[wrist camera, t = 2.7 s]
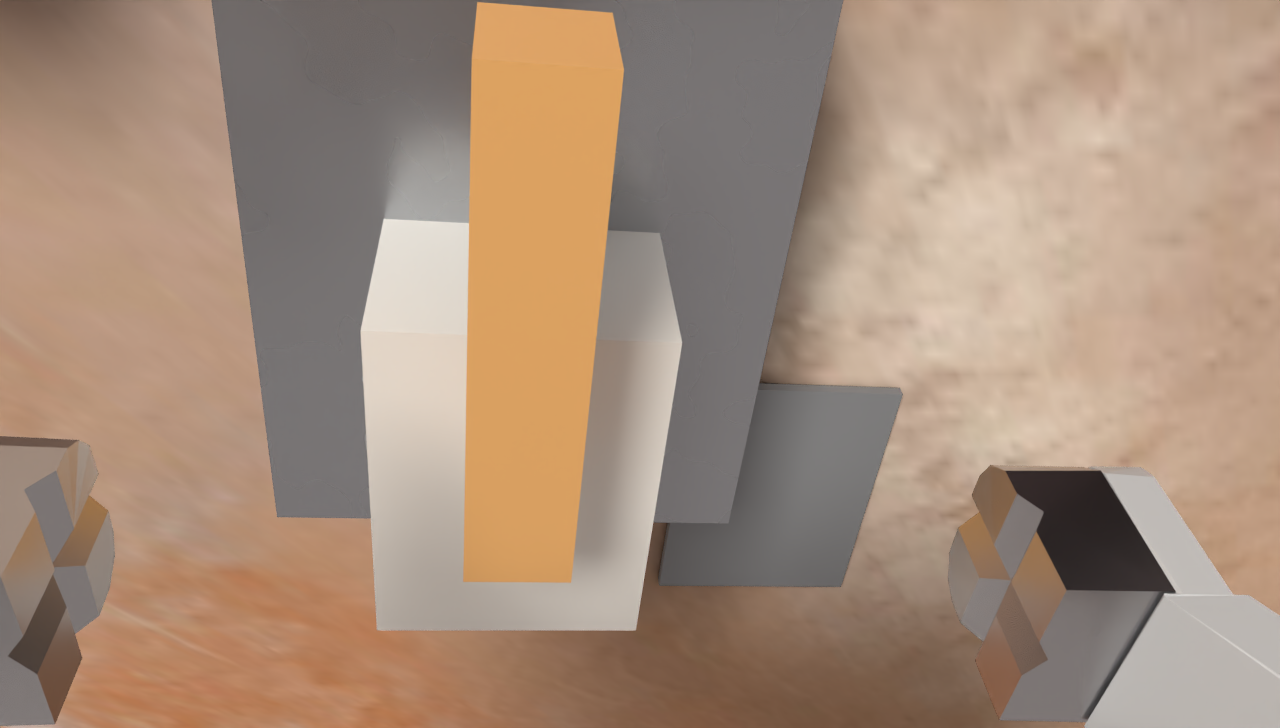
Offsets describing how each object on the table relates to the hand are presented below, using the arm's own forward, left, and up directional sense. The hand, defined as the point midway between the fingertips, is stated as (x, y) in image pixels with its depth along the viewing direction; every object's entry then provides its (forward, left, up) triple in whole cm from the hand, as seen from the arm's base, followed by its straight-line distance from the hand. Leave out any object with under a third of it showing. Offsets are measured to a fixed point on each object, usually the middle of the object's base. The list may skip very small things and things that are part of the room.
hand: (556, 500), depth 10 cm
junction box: (-4, 0, -16) cm, 16 cm away
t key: (0, 0, -10) cm, 10 cm away
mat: (-15, -8, -16) cm, 23 cm away
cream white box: (-6, 0, -10) cm, 12 cm away
